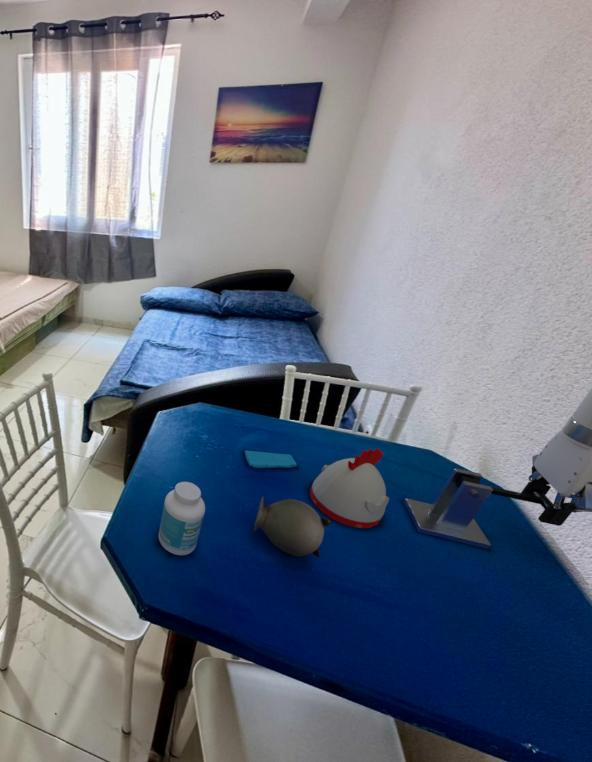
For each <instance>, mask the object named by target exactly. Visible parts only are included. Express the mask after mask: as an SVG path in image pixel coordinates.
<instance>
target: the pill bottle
mask: <svg viewBox="0 0 592 762" xmlns="http://www.w3.org/2000/svg"><path fill="white" fill-rule="evenodd" d="M201 496H202V492H201V489H200V487H198V485H196V484H195V483H193V482H189V481H180V482H178V483H177V484H176V485H175V487H174V489H173V490H171V491H169V492H168V493H167V495H166V496H165V499H164V503H163V509H162V514H161V519H160V524H159V529H158V530H159V531H158V540H159V541H158V542H159V543H160V545H161V546H162V547H163V548H164V550H166V551H167V552H169V553H171V554H173V555H176V556H187V555H189V554H191V553H193V552H194V550H195V549H196V547H197V544H198V540H199V536H200V533H201V528H202V525H203V521H204V517H205V513H206V504H205V501H204V500H203V498H202V497H201Z"/></svg>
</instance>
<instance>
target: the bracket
mask: <svg viewBox="0 0 592 762" xmlns="http://www.w3.org/2000/svg"><path fill="white" fill-rule="evenodd" d="M460 476H464V477H469V478H474V479H478V481H479V482H480V483H481V480H482V478H483V474H482V473H480V472H475V471H470V470H465V469H461V468H453V469H452V472H451V473H450V475H449V477H448V478H447V480H446V481H445V483H444V484H443V486H442V487H441V488H440V491H439V493H438V494H437V496H436V498H435V499H434V501H433V502H432V503H428V502H423V501H419V500H416V499H411V498H405V499H404V501H403V503H404V506H405V508H406V509H407V512H408V514H409V516H410V518H411V520H412V522H413V525H414V527H415V529H416V530H417V532H418V533H420V534H425V535H428V536H433V537H438V538H441V539H446V540H449V541H453V542H458V543H462V544H465V545H470V546H474V547H477V548H482V549H486V550H489V549H490V548H491V546H492V545H491V543H490V541H489V539H488V538H487V537H486V535H485V534H484V532H483V530H482V529H481V528H480V526H479V524H478V523H477V521H476V520H475V517H476V515H477V514H478V513H479V512H480V510H481V508H482V507H483V505H484V504H485V502H486V501H487V500H488V498H489V497H490V495H492V494H491V492H492V491H493V489H492V488H491V487H492V486H491V485H485V484H481V485H480V484H476V483H471V482H466V481H463V482H462V484H461V485H460V487H459V489H458V488H457V486H456V485H455V484H456V483H457V481H458V480H459V478H460Z"/></svg>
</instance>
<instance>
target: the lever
mask: <svg viewBox="0 0 592 762" xmlns="http://www.w3.org/2000/svg"><path fill="white" fill-rule="evenodd" d="M463 481H466V482H471V483H476V484H480V485H482V483H481V481H480V482H479V481H478V479H474V478H469V477H464V476H460V478H459V480H458V481H457V483H456V484H455V485H456V486H457V488H458V489H459V487H460V485H461V484H462V482H463ZM490 487H491V488H492V489H493V491H492V492H491V494H490V495H494V496H499V497H505V498H509V499H514V500H519V501H524V502H528V503H531V504H536V505H540V506H541V507H542V508H543V510H545V509H546V507H547V506H548V505H549V504H551V505H553V503H554V502H552V501H551V499H550V498H549V497H548V496H547V494H546V495H545V494H544V493H543V492H542V491H541V490H539V489H533V490H532V491H531V494H532V495H528V494H524V493H521V492H519V491H513V490H508V489H504V488H499V487H495V486H490Z"/></svg>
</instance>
